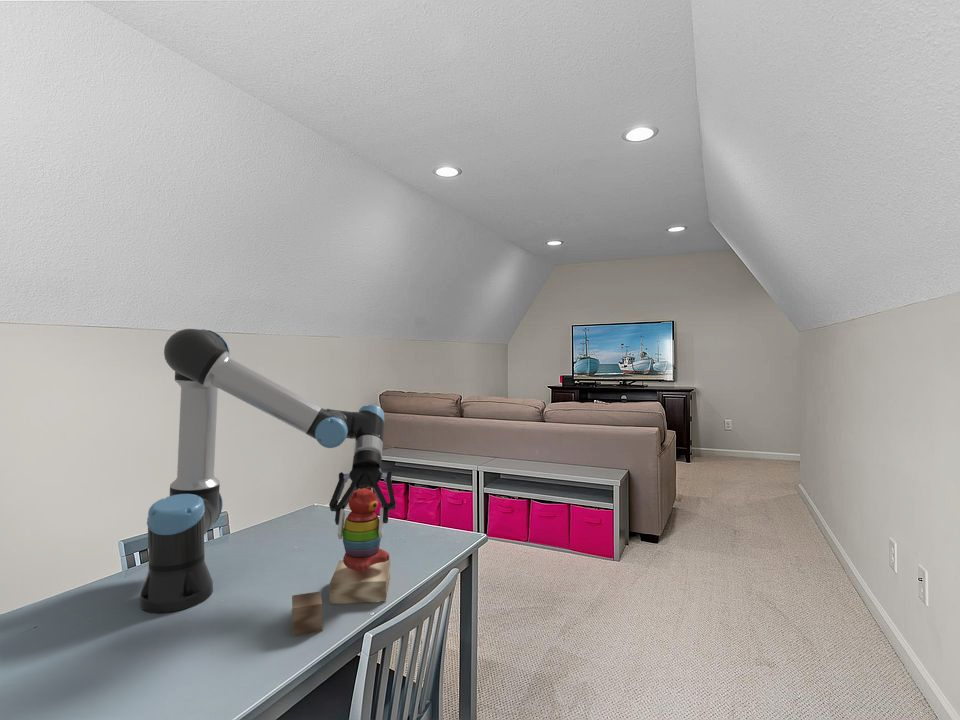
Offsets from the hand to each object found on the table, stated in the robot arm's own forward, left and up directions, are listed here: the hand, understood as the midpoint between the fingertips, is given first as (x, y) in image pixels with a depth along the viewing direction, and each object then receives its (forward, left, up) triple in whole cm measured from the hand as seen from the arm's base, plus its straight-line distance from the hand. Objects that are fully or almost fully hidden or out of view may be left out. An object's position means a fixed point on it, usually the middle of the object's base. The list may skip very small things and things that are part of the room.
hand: (360, 535), depth 127 cm
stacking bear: (0, +3, -8) cm, 8 cm away
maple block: (0, +3, -15) cm, 15 cm away
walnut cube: (-10, -13, -15) cm, 22 cm away
